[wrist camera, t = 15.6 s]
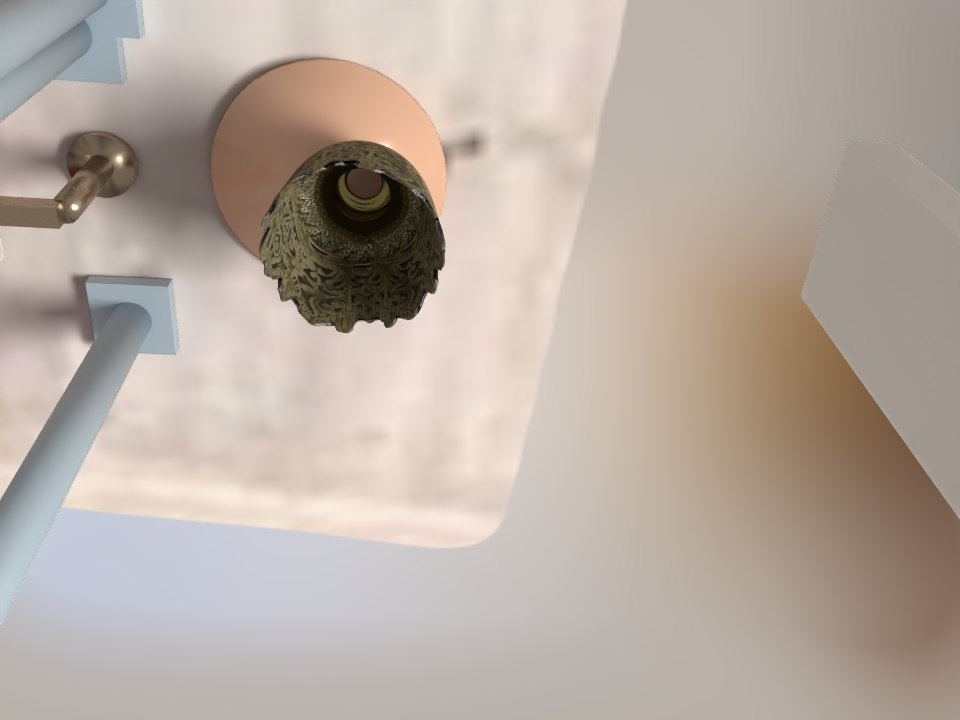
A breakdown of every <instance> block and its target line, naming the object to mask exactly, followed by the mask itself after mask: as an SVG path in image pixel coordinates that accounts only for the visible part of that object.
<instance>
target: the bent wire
mask: <svg viewBox="0 0 960 720" xmlns="http://www.w3.org/2000/svg"><path fill="white" fill-rule="evenodd" d="M67 166H68V170H69V173H70V175H71V177H72V179H71V180H70V181H69V182H68V183H67V184H66V185H65V187H64V188H63V189H62V190H61V191H60V192H59V193H58V194H57V196H56V197H55V198H54V199H41V198H23V197H5V196H0V226H18V227H37V228H56V229H60V227H61V226H62V225H63V224H64V223H66V224H69V223H73V222H75V221H76V220H77V219H78V218H79V217H80V216H81V214H82V213H83V212H84V211H85V209H86V208H87V207H88V206H89V204H90V203H91V202H92V200H93V199H94V198H95V197H96V196H98V197H104V198H110V197H116V196H119V195H121V194H123V193H124V192H126V191H127V190H128V189H129V187H130V186H131V185H132V183H133V182H134V180H135V178H136V176H137V171H138V164H137V160H136V157H135V155H134V152H133V151H132V149H131V148H130V147H129V145H128V144H127V143H126V142H124V141H123V140H122V139H120V138H119V137H117V136H115V135H113V134H110V133H107V132H101V131H95V132H89V133H86V134H84V135H83V136H81V137H80V138H79V139H78V140H77V141H76V142H75V143H74V144H73V145H72V146H71V148H70V149H69V152H68V155H67Z"/></svg>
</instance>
